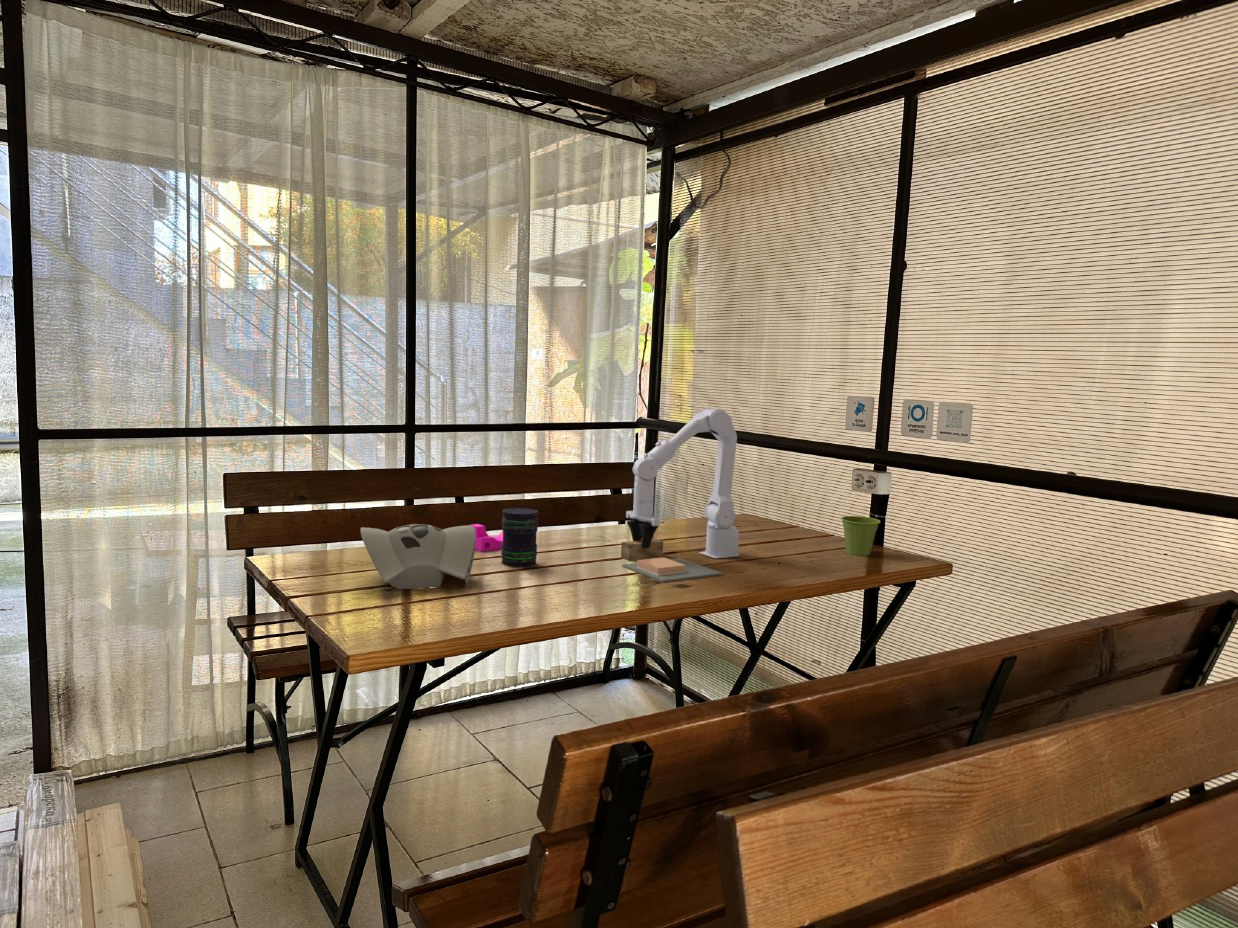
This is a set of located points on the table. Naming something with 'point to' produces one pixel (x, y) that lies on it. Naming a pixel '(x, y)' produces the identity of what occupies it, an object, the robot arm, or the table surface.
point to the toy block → (486, 539)
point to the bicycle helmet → (422, 555)
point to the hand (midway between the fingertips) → (641, 546)
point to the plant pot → (859, 534)
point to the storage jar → (519, 537)
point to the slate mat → (690, 573)
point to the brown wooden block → (641, 550)
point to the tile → (661, 566)
